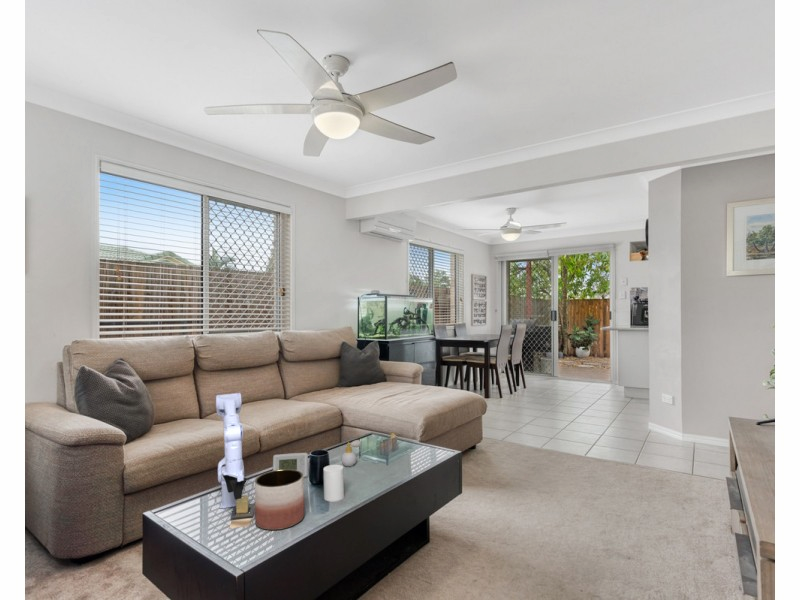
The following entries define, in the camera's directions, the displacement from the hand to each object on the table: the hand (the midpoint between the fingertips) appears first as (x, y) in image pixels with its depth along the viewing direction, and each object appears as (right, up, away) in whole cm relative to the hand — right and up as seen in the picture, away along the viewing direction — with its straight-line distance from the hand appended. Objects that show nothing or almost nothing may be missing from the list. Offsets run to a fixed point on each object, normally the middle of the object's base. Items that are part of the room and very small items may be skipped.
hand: (234, 495), depth 163 cm
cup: (+34, -10, +20) cm, 40 cm away
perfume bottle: (+37, -11, +57) cm, 69 cm away
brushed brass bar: (+1, -10, +5) cm, 12 cm away
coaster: (+3, -10, -1) cm, 10 cm away
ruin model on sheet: (+55, -11, +75) cm, 94 cm away
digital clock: (+10, -11, +43) cm, 46 cm away
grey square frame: (+1, -10, +7) cm, 12 cm away
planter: (+17, -10, +1) cm, 19 cm away
